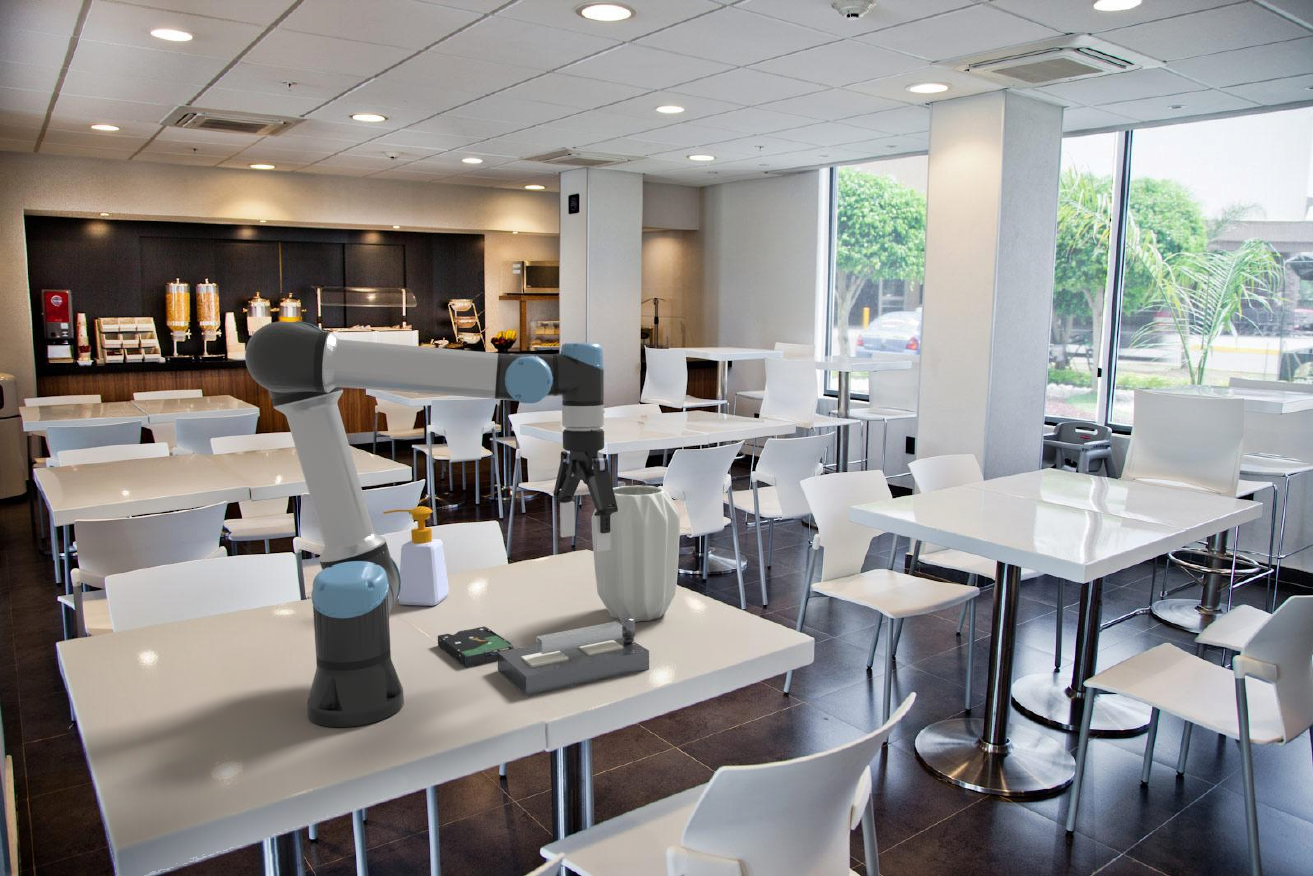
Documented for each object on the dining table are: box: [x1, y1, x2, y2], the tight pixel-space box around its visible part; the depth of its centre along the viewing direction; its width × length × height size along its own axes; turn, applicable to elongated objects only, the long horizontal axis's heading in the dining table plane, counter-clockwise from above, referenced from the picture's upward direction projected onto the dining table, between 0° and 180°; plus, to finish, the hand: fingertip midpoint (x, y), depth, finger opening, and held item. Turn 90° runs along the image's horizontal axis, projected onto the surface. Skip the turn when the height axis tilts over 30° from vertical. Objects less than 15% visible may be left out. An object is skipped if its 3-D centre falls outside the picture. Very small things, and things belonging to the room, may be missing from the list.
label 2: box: [577, 640, 623, 655], centre depth 168 cm, size 7×5×1 cm
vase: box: [591, 485, 681, 623], centre depth 198 cm, size 20×20×28 cm
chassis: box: [497, 637, 650, 697], centre depth 166 cm, size 24×14×4 cm, turn 120°
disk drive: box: [437, 626, 515, 669], centre depth 177 cm, size 10×3×15 cm
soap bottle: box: [382, 505, 450, 607], centre depth 210 cm, size 10×14×22 cm
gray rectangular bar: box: [535, 617, 636, 654], centre depth 166 cm, size 19×2×3 cm, turn 120°
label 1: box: [521, 651, 569, 667], centre depth 162 cm, size 7×5×1 cm
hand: (584, 543), depth 167 cm, fingers open, 13 cm apart
